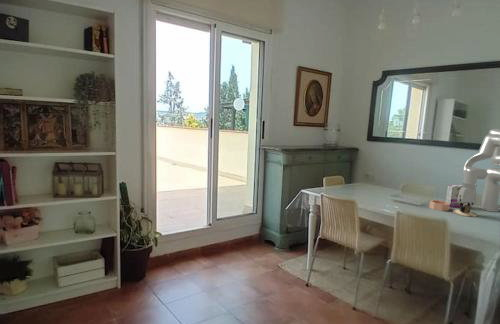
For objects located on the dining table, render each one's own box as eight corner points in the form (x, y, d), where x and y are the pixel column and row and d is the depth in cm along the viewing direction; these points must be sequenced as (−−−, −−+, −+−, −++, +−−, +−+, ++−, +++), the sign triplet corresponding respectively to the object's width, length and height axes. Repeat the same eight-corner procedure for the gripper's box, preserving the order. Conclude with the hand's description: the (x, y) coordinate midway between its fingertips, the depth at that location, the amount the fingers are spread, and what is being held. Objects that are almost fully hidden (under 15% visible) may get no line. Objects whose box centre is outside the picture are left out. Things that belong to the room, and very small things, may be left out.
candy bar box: (456, 205, 246) (459, 184, 244) (461, 207, 242) (465, 186, 239) (444, 205, 243) (447, 184, 241) (450, 207, 239) (453, 186, 236)
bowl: (441, 206, 240) (442, 200, 239) (452, 211, 228) (453, 204, 228) (426, 206, 239) (427, 199, 239) (436, 211, 228) (437, 204, 227)
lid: (466, 210, 231) (468, 202, 230) (481, 217, 217) (483, 208, 216) (448, 210, 230) (449, 202, 229) (462, 216, 216) (463, 208, 215)
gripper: (476, 185, 225) (472, 210, 228) (453, 184, 224) (449, 209, 227) (484, 188, 218) (480, 214, 220) (461, 187, 216) (457, 213, 219)
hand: (464, 211), depth 224 cm, fingers closed on lid, 3 cm apart
